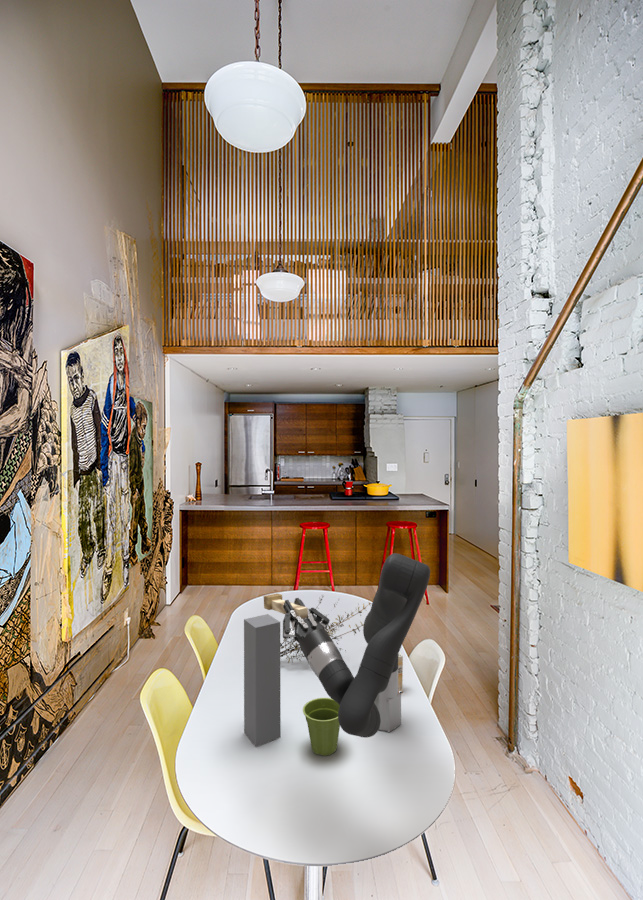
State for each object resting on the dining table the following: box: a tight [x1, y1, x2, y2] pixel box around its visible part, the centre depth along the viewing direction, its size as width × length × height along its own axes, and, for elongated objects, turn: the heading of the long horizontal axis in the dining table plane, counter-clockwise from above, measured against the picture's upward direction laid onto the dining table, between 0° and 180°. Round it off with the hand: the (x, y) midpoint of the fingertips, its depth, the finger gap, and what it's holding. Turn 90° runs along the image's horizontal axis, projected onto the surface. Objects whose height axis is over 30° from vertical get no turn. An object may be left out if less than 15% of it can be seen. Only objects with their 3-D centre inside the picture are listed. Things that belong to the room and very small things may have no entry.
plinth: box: [243, 613, 281, 748], centre depth 136 cm, size 8×8×34 cm
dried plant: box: [280, 595, 372, 664], centre depth 182 cm, size 30×31×45 cm
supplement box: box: [398, 652, 404, 692], centre depth 161 cm, size 8×5×13 cm, turn 105°
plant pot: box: [302, 697, 341, 757], centre depth 130 cm, size 12×12×11 cm
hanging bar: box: [263, 593, 309, 620], centre depth 124 cm, size 18×4×3 cm, turn 34°
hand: (290, 601), depth 122 cm, fingers closed on hanging bar, 2 cm apart
